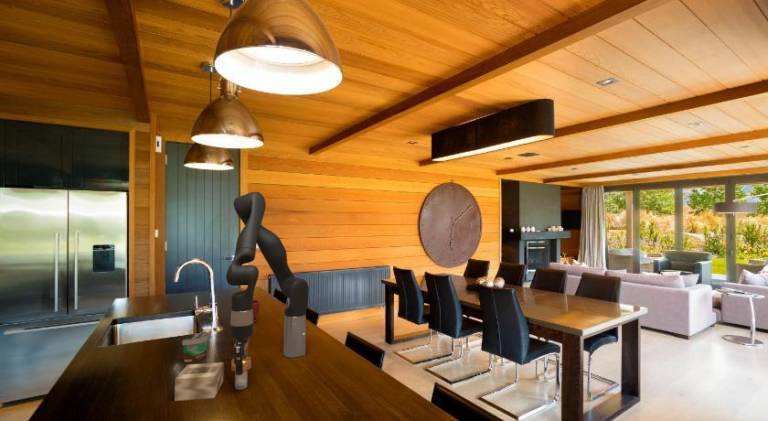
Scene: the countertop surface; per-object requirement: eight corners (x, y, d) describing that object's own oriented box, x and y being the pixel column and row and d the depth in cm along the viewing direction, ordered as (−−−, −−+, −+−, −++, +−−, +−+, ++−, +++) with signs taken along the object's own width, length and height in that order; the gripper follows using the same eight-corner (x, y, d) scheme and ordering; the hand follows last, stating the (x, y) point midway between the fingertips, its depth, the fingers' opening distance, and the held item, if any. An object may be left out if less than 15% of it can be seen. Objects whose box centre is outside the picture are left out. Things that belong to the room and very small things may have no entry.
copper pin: (252, 382, 130) (252, 355, 130) (249, 390, 124) (249, 362, 124) (233, 383, 129) (233, 356, 129) (229, 392, 123) (229, 363, 123)
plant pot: (254, 325, 202) (255, 304, 202) (231, 325, 202) (231, 303, 202) (262, 319, 215) (263, 299, 215) (240, 319, 215) (241, 298, 215)
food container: (194, 366, 145) (195, 341, 145) (181, 364, 146) (182, 339, 146) (214, 355, 157) (215, 331, 157) (202, 354, 158) (203, 330, 158)
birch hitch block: (223, 381, 131) (223, 362, 131) (214, 397, 119) (214, 376, 119) (187, 384, 128) (187, 364, 129) (174, 401, 117) (175, 379, 117)
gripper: (249, 327, 121) (248, 378, 120) (256, 316, 135) (255, 361, 134) (225, 328, 119) (224, 380, 119) (234, 317, 133) (234, 363, 133)
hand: (241, 370), depth 127 cm, fingers closed on copper pin, 6 cm apart
